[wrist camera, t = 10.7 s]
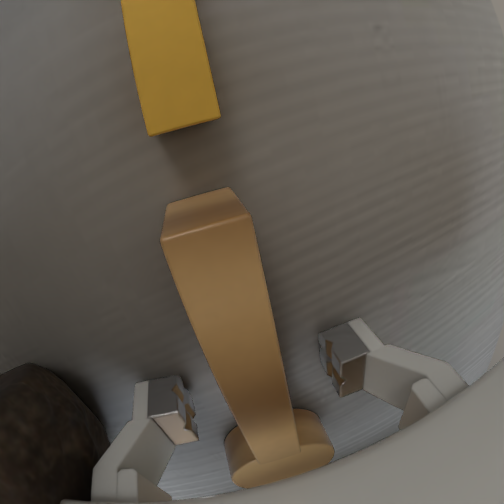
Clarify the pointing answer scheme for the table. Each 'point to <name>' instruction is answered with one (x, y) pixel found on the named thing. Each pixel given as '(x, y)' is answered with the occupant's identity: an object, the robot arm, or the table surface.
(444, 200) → the table surface
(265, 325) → the spoon
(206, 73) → the fry
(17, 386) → the dark brown bone
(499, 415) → the robot arm
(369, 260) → the table surface
